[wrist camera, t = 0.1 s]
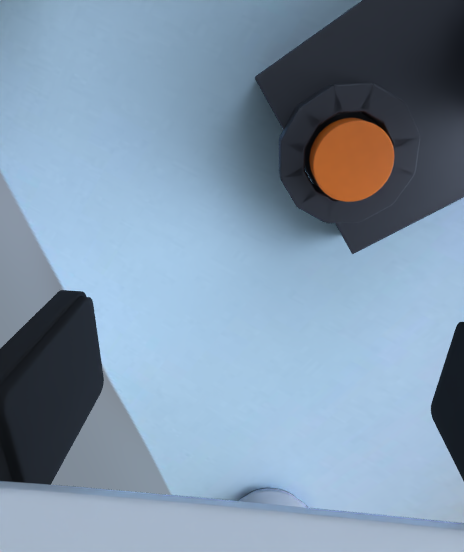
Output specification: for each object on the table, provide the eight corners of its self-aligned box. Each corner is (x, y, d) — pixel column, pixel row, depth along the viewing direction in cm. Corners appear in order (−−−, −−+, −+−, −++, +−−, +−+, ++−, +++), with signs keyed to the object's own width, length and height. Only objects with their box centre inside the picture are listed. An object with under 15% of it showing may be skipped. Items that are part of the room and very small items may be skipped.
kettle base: (325, 245, 26) (337, 277, 22) (237, 91, 23) (229, 92, 18) (617, 90, 21) (711, 91, 17) (562, -139, 18) (662, -215, 13)
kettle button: (330, 206, 21) (335, 216, 19) (296, 145, 19) (298, 150, 18) (396, 168, 20) (407, 176, 18) (365, 101, 18) (373, 103, 17)
